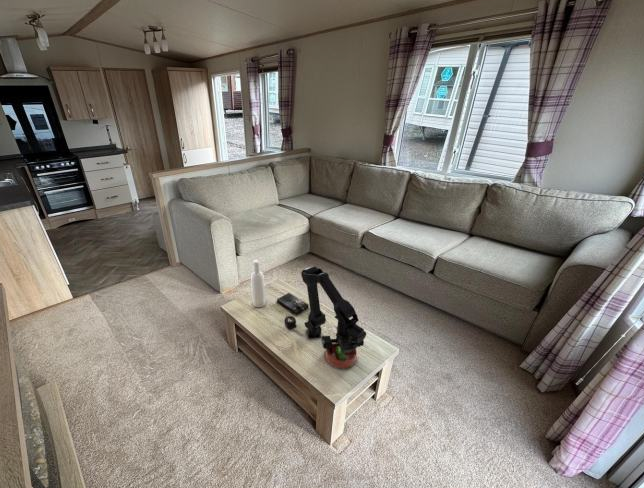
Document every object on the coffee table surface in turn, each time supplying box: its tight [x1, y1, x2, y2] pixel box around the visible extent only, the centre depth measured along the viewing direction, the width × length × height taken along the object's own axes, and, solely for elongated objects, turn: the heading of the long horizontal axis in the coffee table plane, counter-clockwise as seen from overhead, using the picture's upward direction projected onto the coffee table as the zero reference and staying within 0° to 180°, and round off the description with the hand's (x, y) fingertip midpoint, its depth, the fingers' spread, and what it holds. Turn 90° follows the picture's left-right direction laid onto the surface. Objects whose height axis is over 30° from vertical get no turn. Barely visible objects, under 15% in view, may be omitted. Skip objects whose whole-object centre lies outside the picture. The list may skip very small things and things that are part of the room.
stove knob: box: [296, 298, 303, 308], centre depth 175 cm, size 4×4×4 cm
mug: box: [283, 313, 302, 335], centre depth 161 cm, size 12×6×7 cm, turn 42°
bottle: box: [250, 259, 267, 308], centre depth 176 cm, size 8×8×30 cm
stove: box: [276, 292, 310, 317], centre depth 180 cm, size 18×10×3 cm, turn 40°
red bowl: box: [325, 344, 358, 369], centre depth 144 cm, size 14×14×5 cm
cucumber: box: [336, 346, 346, 361], centre depth 144 cm, size 4×9×4 cm, turn 4°
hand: (340, 353), depth 144 cm, fingers open, 9 cm apart
